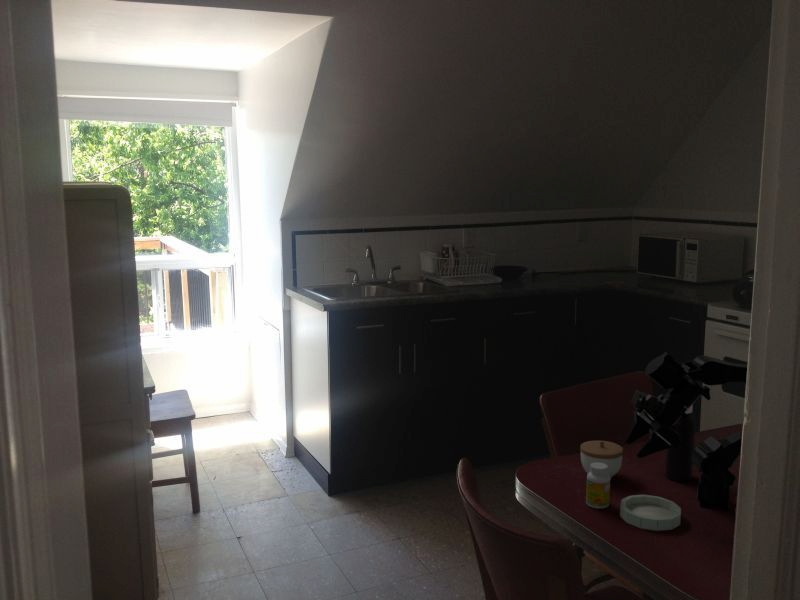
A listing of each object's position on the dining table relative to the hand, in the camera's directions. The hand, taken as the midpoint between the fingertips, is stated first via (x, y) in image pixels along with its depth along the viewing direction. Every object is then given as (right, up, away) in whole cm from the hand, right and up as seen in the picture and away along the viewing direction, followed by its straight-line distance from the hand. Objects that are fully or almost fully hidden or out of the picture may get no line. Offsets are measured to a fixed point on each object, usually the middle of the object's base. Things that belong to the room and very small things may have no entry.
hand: (632, 449), depth 175 cm
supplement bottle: (-8, -13, +1) cm, 16 cm away
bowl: (+2, -14, -5) cm, 16 cm away
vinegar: (+17, -11, +17) cm, 27 cm away
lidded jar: (-3, -11, +18) cm, 21 cm away
